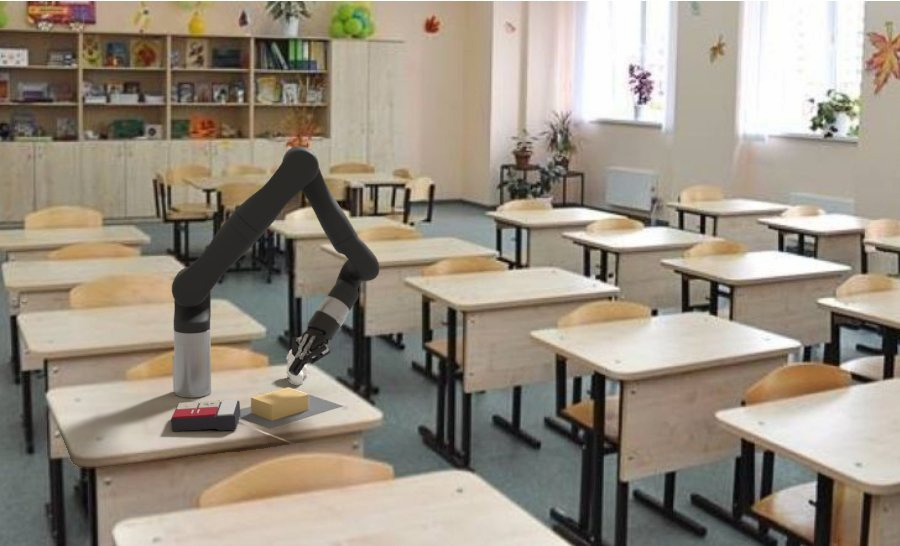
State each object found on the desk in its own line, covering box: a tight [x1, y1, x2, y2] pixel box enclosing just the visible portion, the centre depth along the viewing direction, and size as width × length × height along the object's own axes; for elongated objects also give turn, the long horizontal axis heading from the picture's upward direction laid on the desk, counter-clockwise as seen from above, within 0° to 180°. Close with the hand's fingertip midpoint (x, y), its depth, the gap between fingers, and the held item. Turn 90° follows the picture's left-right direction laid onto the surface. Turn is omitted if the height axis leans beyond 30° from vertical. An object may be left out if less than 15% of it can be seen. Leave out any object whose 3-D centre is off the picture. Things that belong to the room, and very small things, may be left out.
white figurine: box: [286, 348, 310, 386], centre depth 291 cm, size 6×8×12 cm
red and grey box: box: [170, 399, 241, 432], centre depth 256 cm, size 11×4×15 cm
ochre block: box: [250, 386, 310, 420], centre depth 265 cm, size 8×4×12 cm
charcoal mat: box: [239, 394, 343, 429], centre depth 267 cm, size 16×24×1 cm, turn 139°
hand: (292, 373), depth 267 cm, fingers closed
